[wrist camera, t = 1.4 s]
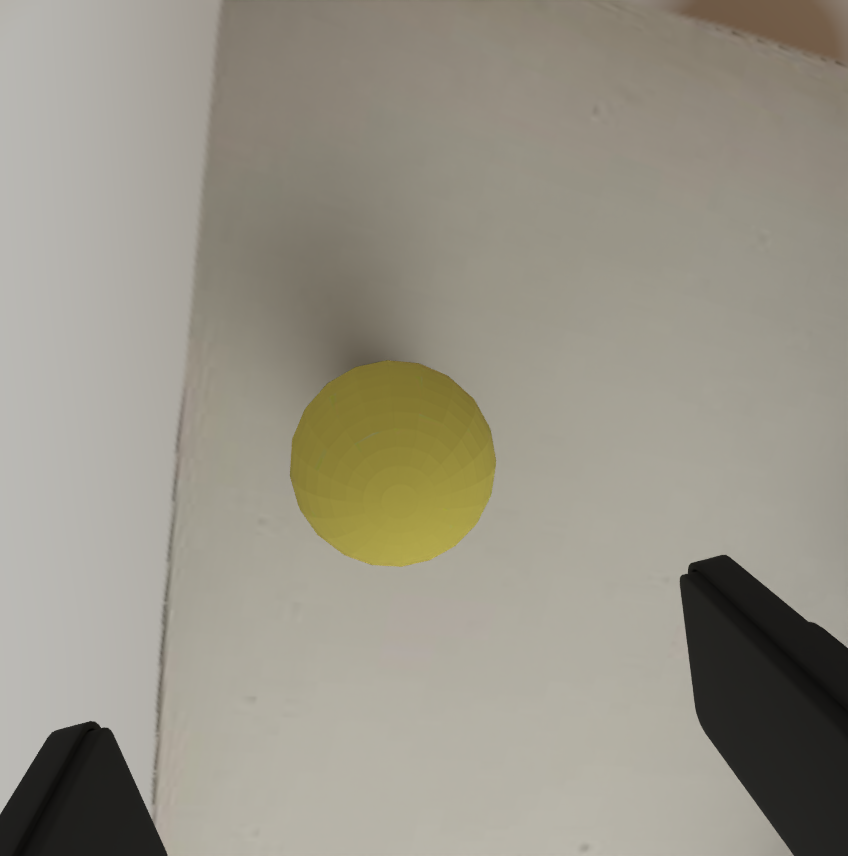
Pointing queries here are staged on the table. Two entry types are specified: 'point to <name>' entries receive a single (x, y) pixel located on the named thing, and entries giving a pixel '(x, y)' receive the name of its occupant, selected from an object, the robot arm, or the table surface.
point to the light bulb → (392, 463)
